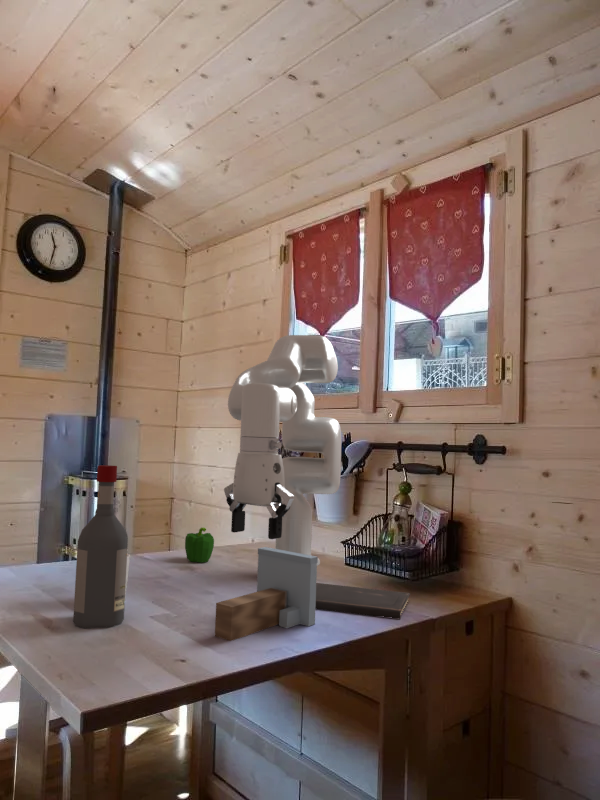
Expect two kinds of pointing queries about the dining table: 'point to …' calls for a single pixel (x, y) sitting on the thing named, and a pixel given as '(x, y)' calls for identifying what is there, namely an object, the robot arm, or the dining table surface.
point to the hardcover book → (360, 600)
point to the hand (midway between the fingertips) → (255, 534)
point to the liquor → (101, 561)
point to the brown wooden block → (249, 613)
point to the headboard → (290, 583)
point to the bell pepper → (199, 546)
